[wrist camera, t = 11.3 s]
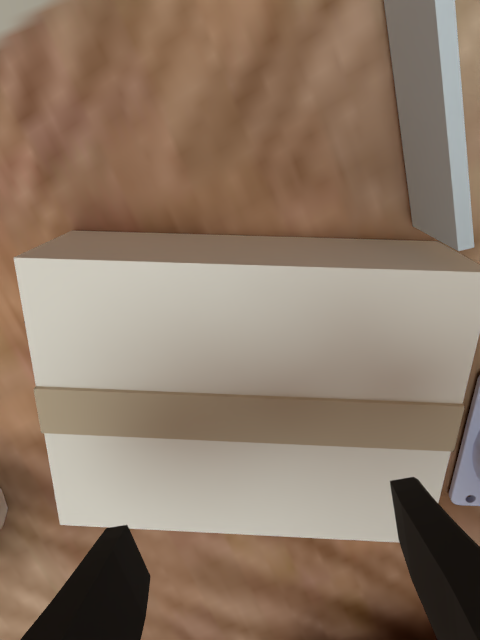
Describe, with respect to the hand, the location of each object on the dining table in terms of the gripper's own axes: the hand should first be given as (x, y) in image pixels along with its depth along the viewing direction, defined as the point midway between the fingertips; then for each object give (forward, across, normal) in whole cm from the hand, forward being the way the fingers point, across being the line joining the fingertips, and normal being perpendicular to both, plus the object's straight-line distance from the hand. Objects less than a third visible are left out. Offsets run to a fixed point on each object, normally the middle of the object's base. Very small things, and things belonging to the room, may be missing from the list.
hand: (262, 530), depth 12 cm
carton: (+10, 0, 0) cm, 10 cm away
